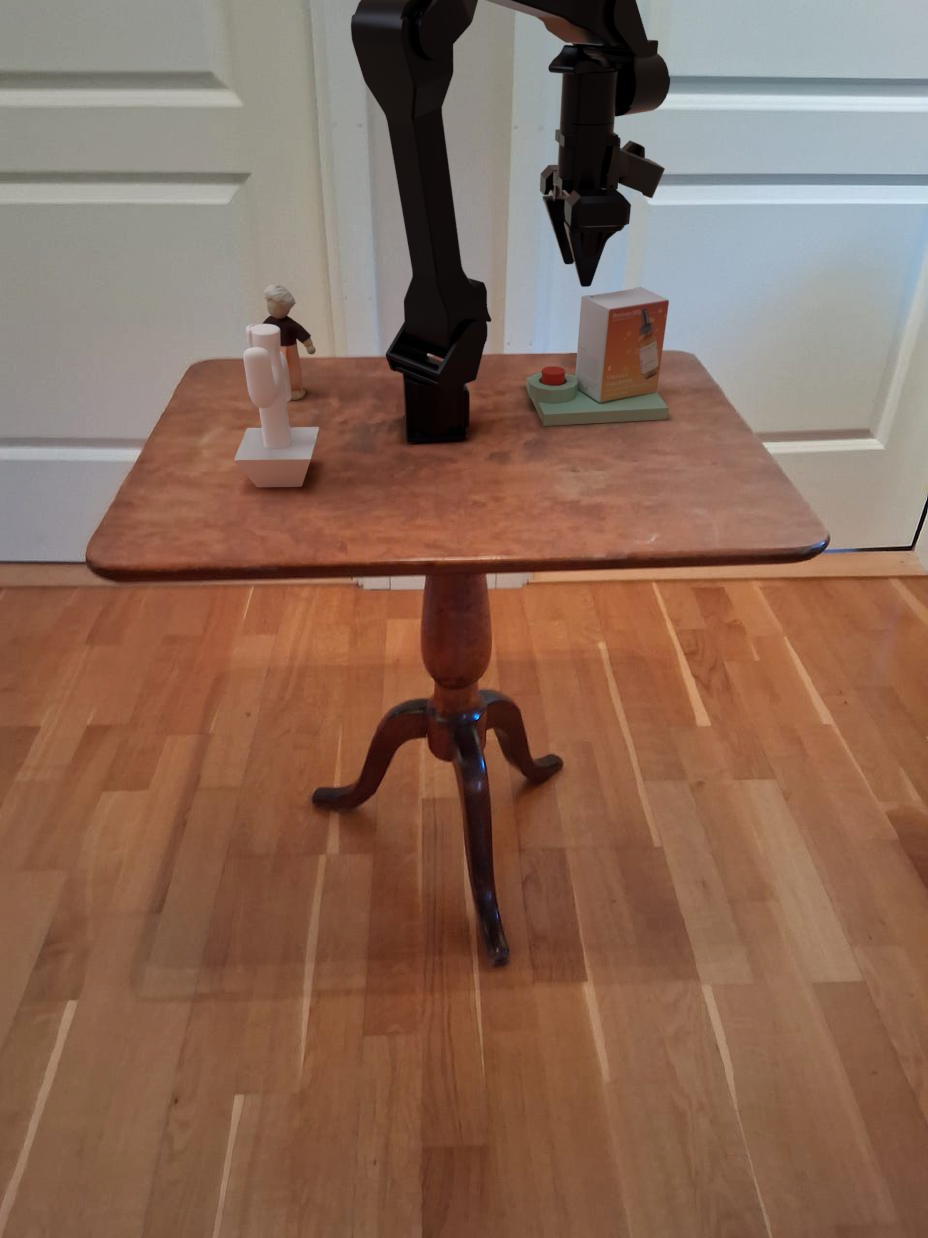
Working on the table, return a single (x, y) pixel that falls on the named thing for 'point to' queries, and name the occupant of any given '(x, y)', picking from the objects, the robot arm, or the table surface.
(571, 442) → the table surface
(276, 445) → the figurine
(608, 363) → the small box
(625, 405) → the scale
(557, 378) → the button
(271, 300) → the grandmother figurine
